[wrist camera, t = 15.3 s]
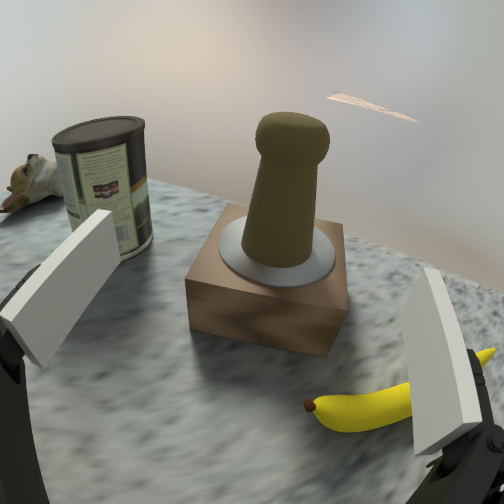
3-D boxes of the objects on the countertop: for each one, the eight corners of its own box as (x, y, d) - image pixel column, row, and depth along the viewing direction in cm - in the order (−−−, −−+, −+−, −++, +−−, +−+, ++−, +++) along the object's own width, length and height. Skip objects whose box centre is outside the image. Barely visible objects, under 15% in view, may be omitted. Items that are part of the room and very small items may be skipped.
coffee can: (123, 208, 41) (113, 112, 32) (170, 235, 37) (164, 121, 28) (63, 240, 34) (39, 136, 25) (102, 277, 30) (73, 149, 21)
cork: (319, 268, 24) (352, 132, 17) (242, 267, 23) (255, 120, 16) (303, 226, 29) (325, 111, 22) (239, 224, 28) (248, 103, 21)
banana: (473, 390, 21) (513, 350, 17) (289, 456, 17) (312, 428, 13) (461, 368, 23) (497, 326, 19) (280, 421, 20) (298, 382, 16)
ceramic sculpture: (63, 151, 36) (-19, 181, 31) (76, 203, 41) (-2, 228, 36) (70, 134, 43) (-1, 159, 38) (79, 178, 49) (12, 200, 43)
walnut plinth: (189, 328, 26) (184, 275, 22) (225, 249, 35) (227, 200, 31) (326, 356, 24) (348, 307, 21) (329, 268, 34) (343, 221, 30)
